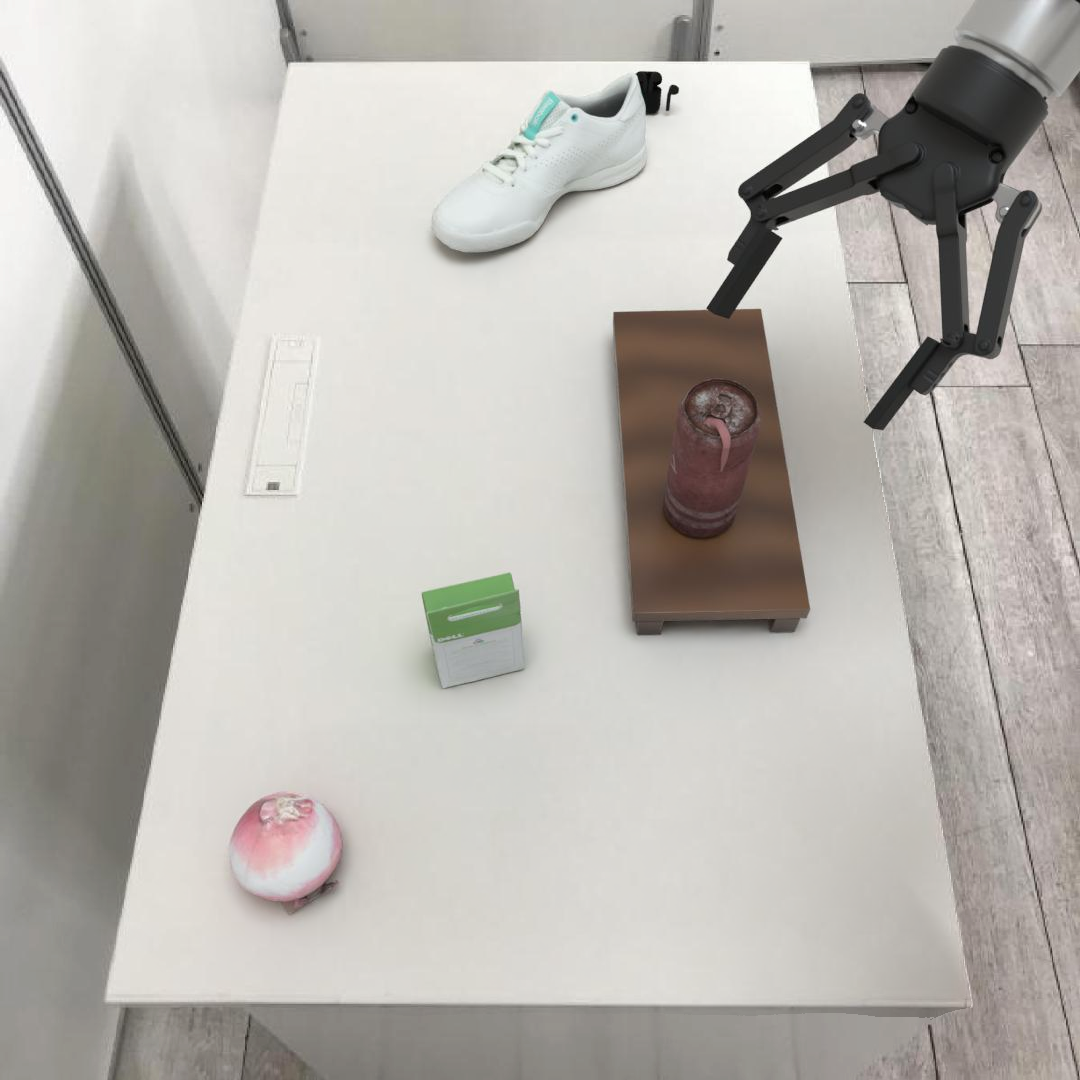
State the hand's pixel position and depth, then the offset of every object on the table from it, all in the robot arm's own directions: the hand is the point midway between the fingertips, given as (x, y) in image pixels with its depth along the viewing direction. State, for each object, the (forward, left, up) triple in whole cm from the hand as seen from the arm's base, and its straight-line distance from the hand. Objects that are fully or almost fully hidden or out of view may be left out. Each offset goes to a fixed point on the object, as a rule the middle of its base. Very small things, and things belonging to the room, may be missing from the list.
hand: (792, 368), depth 72 cm
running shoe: (+34, +33, -23) cm, 52 cm away
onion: (-38, +23, -23) cm, 50 cm away
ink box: (-18, +17, -23) cm, 34 cm away
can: (-1, +4, -19) cm, 20 cm away
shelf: (+6, +6, -23) cm, 25 cm away
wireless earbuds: (+52, +27, -23) cm, 63 cm away
